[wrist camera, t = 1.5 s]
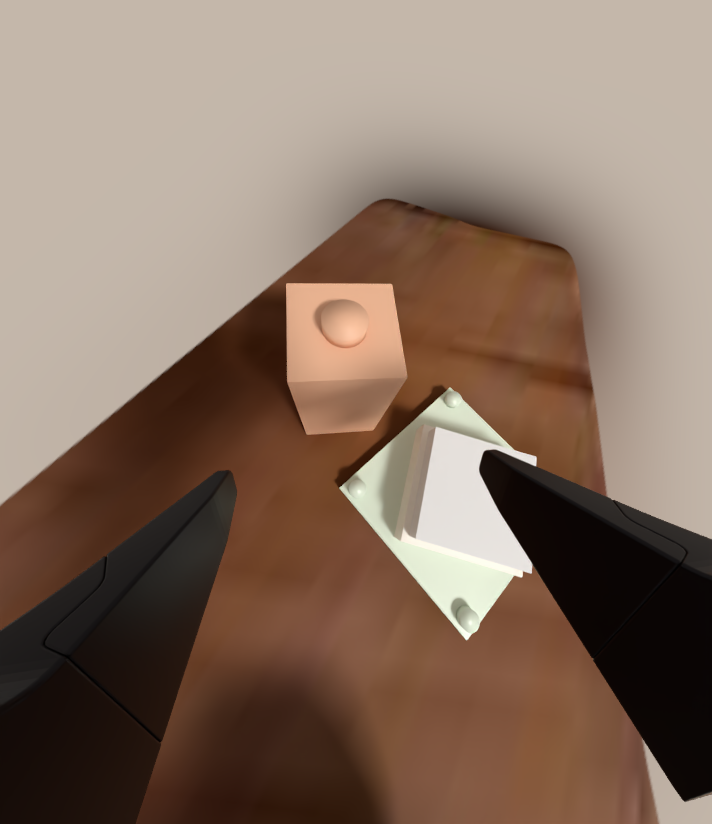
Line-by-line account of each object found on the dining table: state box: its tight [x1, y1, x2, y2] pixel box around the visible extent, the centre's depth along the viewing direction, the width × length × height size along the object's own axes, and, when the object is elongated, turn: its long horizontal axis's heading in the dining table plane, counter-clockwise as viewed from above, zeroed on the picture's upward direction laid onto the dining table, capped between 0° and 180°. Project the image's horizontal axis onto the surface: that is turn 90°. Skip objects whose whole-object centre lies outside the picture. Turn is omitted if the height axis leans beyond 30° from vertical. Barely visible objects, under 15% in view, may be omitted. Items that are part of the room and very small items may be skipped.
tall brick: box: [286, 284, 407, 435], centre depth 18 cm, size 6×6×12 cm
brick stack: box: [394, 424, 536, 577], centre depth 20 cm, size 9×9×4 cm
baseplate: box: [339, 388, 514, 640], centre depth 22 cm, size 14×14×2 cm
